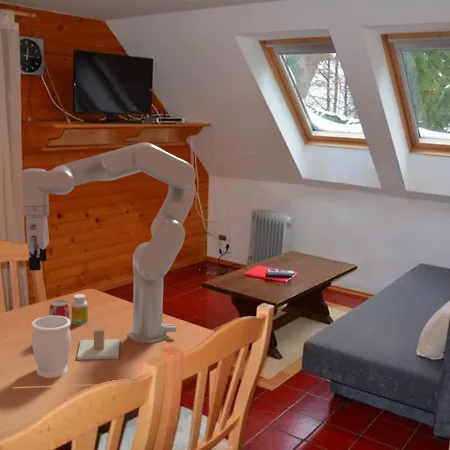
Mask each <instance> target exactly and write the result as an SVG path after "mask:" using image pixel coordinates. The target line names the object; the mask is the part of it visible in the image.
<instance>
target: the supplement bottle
mask: <svg viewBox="0 0 450 450" xmlns="http://www.w3.org/2000/svg"><path fill="white" fill-rule="evenodd" d="M88 307H89V306H88V301H87V300H86V295H85V294H82V293H78V294H75V295H73V301H72V302H71V324H73V325H76V326H80V325H82V326H83V325H86V324H87V323H88V322H89V320H88V319H89V312H88V311H89V309H88Z"/></svg>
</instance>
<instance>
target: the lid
mask: <svg viewBox="0 0 450 450" xmlns="http://www.w3.org/2000/svg"><path fill="white" fill-rule="evenodd" d="M119 341H120V338H113V339H112V338H111V339H109V338H108V339H107V338H106V339H105V326H94V328H93V339H80V346H79V345H78V346H79V350H78V349H77V351H78V355H77V354H76V355H77V360H81V361H86V360H85V359H118V357H119Z"/></svg>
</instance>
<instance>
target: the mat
mask: <svg viewBox="0 0 450 450" xmlns="http://www.w3.org/2000/svg"><path fill="white" fill-rule="evenodd" d="M79 346H80V342H79V343H78V346H77V351H76V356H75V362H76V361H79V362H80V361H82V360H77V355H78V350H79ZM121 349H122V341H120V340H119V357H118V359H85V360H84V361H111V360H112V361H113V360H114V361H115V360H116V361H117V360H121V353H122V352H121Z"/></svg>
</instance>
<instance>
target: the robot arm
mask: <svg viewBox="0 0 450 450" xmlns="http://www.w3.org/2000/svg"><path fill="white" fill-rule="evenodd" d="M140 172H141V173H144V174H146V175H148V176H150V177H152V178H154V179H156V180H159V181H160V182H162V183H165V184H167V185H168V191H167V195H166V198H165V199H164V201H163V204H162V205H161V208H160V209H159V211H158V213H156V216H155V218H154V219H153V221H152V224H151V226H150V233H151V236H152V237H151V239H150V241H148V242H147V241H146V242H145V241H144V242H143V243H140V244H139V245H138V246H137V247H136V248H135V250H134V252H133V255H132V271H133V293H132V294H133V297H132V298H133V301H132V303H133V307H132V308H133V309H132V310H133V311H132V315H133V316H132V328H131V329H130V330H129V331H128V333H127V334H128V335H127V336H128V338H129V340H130V341H133V342H136V343H140V344H154V343H158V342H161V341H163V340H165V339H166V338H167V336H168V335H167V334H168V333H176V332H177V326H176V325H173V323H168V324H165V323H164V320H163V310H164V309H163V307H164V306H163V305H164V304H163V301H164V300H163V299H164V277H165V276H166V275H167V273H168V272H169V270H170V268H171V267H172V266H173V263H174V261H175V260H176V258H177V257H178V254H179V252H180V250H181V249H182V246H183V244H184V242H185V238H186V229H185V228H184V227H185V226H183V224H184V223H185V220H186V219H187V217H188V214H189V212H190V210H191V208H192V206H193V204H194V199H195V195H196V187H195V186H196V185H195V181H196V178H197V177H196V176H197V175H196V169H195V168H194V166H193V165H192V164H190V163H189V162H188V161H185V160H184V159H181V158H178V157H176V156H175V155H173V154H171V153H169V152H168V151H167V152H166V151H165V150H163V149H162V148H160V147H158V146H156V145H154V144H153V143H150V142H146V141H144V142H139V143H134V144H131V145H128V146H125V147H121V148H117V149H114V150H111V151H107V152H103V153H100V154H96V155H93V156H89V157H85V158H82V159H77V160H73V161H71V162H67V163H64V164H61V165H58V166H55V167H54V168H53V169H51V170H46V169H45V168H44V169H43V168H36V167H35V168H25V169H23V170H21V173H20V185H21V186H20V187H21V205H22V207H21V208H22V209H21V210H22V217H25V219H26V220H25V221H26V223H25V224H26V225H25V226H26V229H25V230H26V247H27V249H28V250H29V251H28V252H29V253H28V268H29V271H41V270H42V265H41V262H46V261H47V246H48V245H49V243H50V236H49V225H48V224H49V223H48V216H50V201H49V197H50V196H49V194H52V195H58V196H59V195H61V196H62V195H67V194H69V193H70V192H71V193H72V191H73V190H74V187H76V186H80V185H83V184H86V183H91V182H98V181H100V182H101V181H102V182H108V181H109V182H110V181H115V180H117V179H121V178H124V177H128V176H131V175H134V174H137V173H138V174H139V173H140Z"/></svg>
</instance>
